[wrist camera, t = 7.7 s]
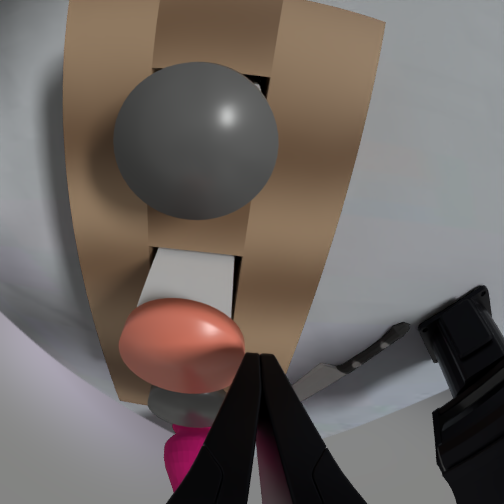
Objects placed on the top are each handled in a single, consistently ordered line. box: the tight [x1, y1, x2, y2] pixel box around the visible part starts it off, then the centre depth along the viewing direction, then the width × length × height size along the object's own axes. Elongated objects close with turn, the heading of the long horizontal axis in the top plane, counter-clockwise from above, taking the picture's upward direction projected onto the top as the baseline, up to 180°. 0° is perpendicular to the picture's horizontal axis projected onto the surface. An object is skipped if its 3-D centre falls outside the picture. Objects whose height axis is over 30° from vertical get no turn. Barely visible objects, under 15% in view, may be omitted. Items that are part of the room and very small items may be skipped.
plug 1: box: [113, 62, 279, 220], centre depth 10 cm, size 4×4×7 cm
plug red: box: [119, 247, 245, 394], centre depth 13 cm, size 4×4×7 cm
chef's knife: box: [292, 322, 410, 401], centre depth 26 cm, size 19×1×3 cm
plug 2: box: [148, 385, 227, 428], centre depth 18 cm, size 4×4×7 cm
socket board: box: [63, 0, 386, 405], centre depth 15 cm, size 22×10×5 cm, turn 172°
